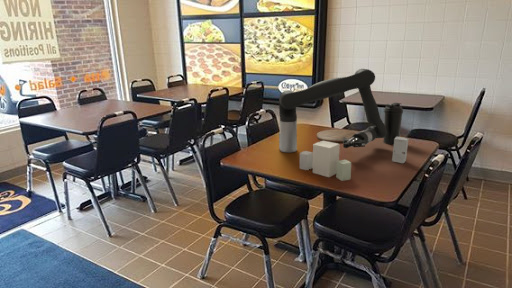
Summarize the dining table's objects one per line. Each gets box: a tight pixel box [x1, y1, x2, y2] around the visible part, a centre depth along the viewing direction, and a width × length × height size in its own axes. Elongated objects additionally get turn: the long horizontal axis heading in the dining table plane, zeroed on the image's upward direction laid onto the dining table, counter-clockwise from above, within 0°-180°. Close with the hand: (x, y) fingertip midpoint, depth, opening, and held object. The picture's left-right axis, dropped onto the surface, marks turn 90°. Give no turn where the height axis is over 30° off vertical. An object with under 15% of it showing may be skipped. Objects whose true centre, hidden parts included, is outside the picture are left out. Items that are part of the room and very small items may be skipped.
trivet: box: [316, 129, 356, 144], centre depth 228 cm, size 25×25×2 cm
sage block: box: [335, 159, 352, 182], centre depth 164 cm, size 4×4×8 cm
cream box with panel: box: [312, 140, 340, 178], centre depth 171 cm, size 8×9×14 cm
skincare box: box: [391, 136, 410, 164], centre depth 182 cm, size 6×4×12 cm
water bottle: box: [383, 102, 404, 145], centre depth 212 cm, size 10×10×23 cm
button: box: [339, 144, 342, 159], centre depth 172 cm, size 9×6×6 cm, turn 136°
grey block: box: [299, 150, 313, 171], centre depth 178 cm, size 4×4×8 cm
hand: (344, 146), depth 181 cm, fingers closed
